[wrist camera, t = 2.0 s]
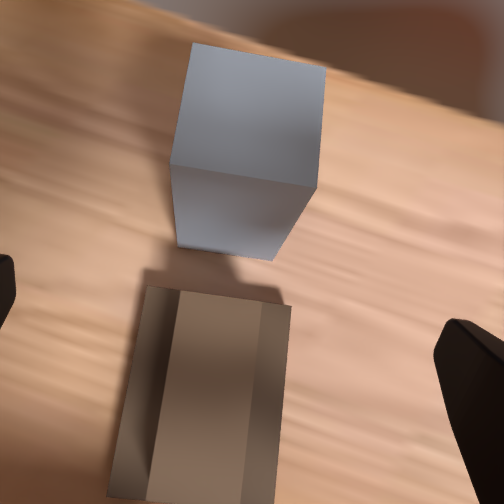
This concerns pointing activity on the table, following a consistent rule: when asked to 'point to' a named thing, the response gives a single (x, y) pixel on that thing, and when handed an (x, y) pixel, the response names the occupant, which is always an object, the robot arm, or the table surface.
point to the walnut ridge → (203, 401)
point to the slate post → (244, 150)
